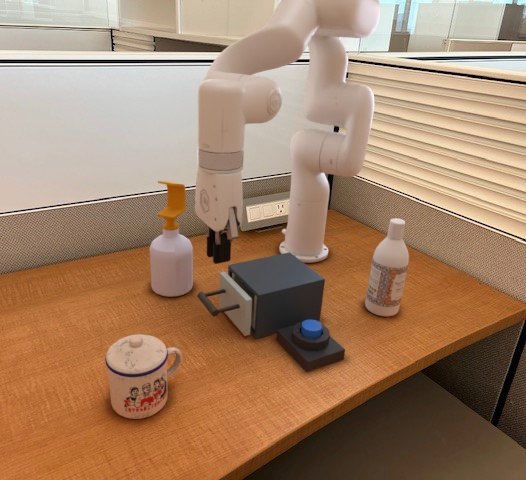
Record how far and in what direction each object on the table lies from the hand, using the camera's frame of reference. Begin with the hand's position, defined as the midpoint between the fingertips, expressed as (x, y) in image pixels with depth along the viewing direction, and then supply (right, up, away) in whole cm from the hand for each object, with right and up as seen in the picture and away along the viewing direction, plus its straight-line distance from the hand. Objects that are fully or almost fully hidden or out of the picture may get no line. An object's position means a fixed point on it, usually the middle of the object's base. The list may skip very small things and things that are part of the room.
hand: (218, 258), depth 86 cm
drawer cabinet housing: (+11, -12, +12) cm, 20 cm away
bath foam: (+34, -11, +15) cm, 39 cm away
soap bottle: (-11, -7, +20) cm, 24 cm away
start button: (+17, -14, 0) cm, 21 cm away
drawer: (+6, -12, +9) cm, 16 cm away
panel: (+17, -17, +1) cm, 24 cm away
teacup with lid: (-11, -21, -11) cm, 26 cm away
